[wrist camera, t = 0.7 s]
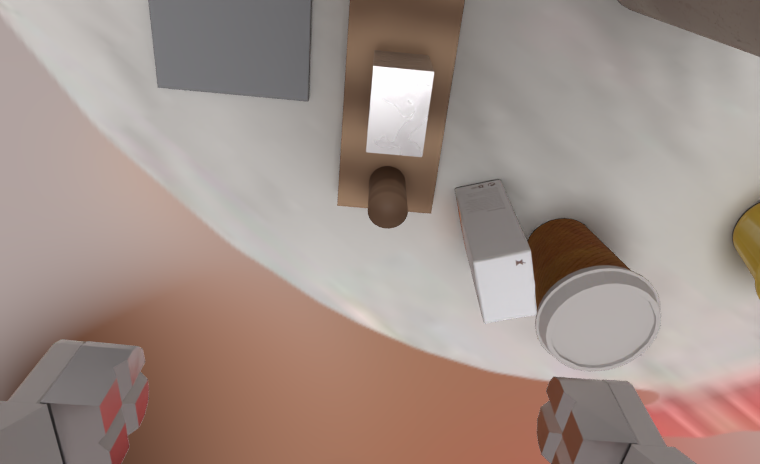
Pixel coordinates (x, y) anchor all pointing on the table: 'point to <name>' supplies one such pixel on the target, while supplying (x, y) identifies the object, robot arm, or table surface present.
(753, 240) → the plant pot
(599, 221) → the table surface
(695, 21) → the thermos bottle
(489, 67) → the table surface
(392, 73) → the white rectangular box
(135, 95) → the table surface
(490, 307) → the skincare box
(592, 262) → the disposable coffee cup
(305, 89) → the slate pad
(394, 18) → the walnut plane
